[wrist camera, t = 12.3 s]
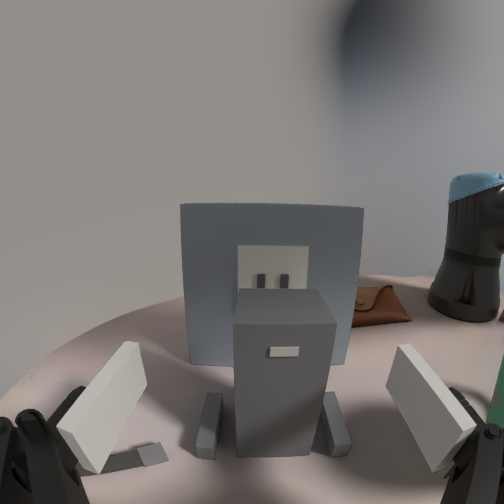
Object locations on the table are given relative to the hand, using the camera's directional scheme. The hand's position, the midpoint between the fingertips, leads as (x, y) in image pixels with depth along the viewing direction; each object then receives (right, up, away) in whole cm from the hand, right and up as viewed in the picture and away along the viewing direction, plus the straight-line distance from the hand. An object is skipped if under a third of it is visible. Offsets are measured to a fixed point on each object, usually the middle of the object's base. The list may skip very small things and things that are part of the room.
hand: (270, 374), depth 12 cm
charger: (+1, -8, +5) cm, 9 cm away
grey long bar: (-13, -9, -2) cm, 15 cm away
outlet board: (+1, -7, +9) cm, 11 cm away
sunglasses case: (+14, -4, +26) cm, 29 cm away
